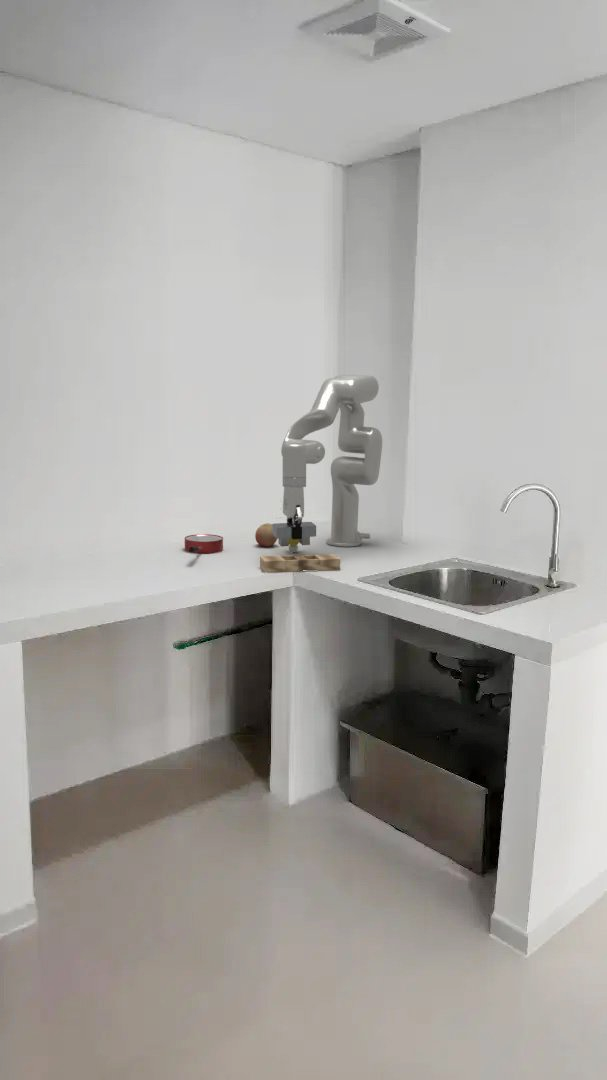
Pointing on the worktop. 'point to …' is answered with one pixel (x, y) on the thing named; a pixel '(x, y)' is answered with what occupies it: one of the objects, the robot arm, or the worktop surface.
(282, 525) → the brushed steel slab
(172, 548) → the worktop surface
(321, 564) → the light brown long block
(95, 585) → the worktop surface
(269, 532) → the fruit
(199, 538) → the frying pan
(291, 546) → the light bulb
